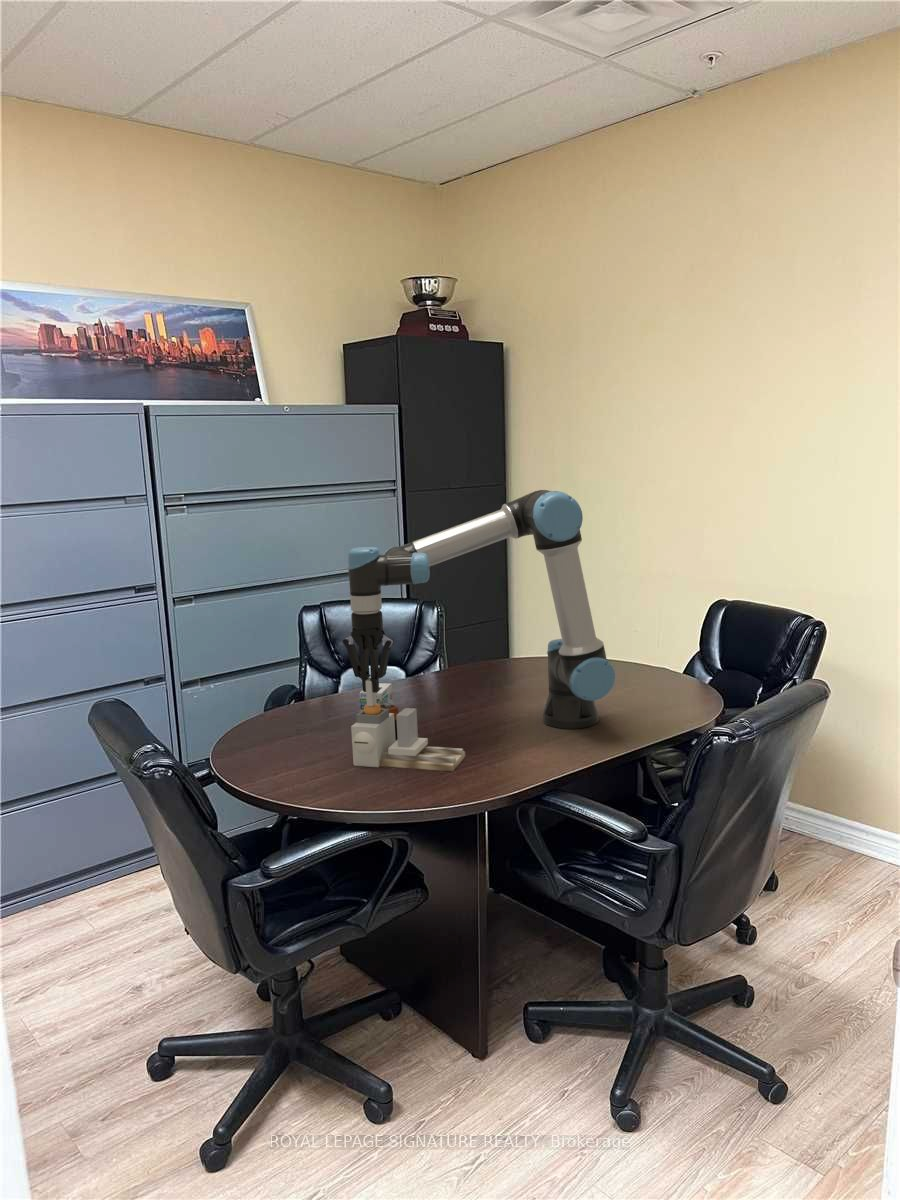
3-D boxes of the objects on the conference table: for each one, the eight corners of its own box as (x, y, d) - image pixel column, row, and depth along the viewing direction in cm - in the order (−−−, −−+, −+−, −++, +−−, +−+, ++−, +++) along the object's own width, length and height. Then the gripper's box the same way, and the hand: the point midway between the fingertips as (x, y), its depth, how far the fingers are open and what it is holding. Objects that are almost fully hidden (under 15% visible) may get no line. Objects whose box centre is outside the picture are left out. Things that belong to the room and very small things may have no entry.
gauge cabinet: (396, 751, 233) (393, 705, 231) (377, 768, 221) (374, 720, 219) (372, 749, 235) (369, 704, 233) (352, 766, 223) (349, 719, 221)
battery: (387, 743, 240) (385, 706, 238) (372, 737, 245) (370, 701, 243) (400, 739, 242) (398, 703, 241) (386, 733, 248) (384, 698, 246)
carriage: (427, 743, 228) (426, 707, 227) (415, 755, 220) (413, 718, 218) (401, 742, 231) (399, 705, 229) (388, 754, 222) (386, 716, 221)
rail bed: (465, 757, 226) (464, 746, 226) (452, 771, 217) (452, 760, 217) (395, 752, 232) (395, 742, 232) (380, 766, 223) (380, 755, 222)
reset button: (383, 715, 228) (382, 703, 228) (377, 720, 224) (376, 708, 224) (368, 714, 229) (367, 703, 229) (362, 719, 226) (361, 707, 225)
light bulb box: (384, 731, 250) (382, 693, 248) (360, 730, 252) (358, 692, 250) (394, 719, 261) (392, 682, 259) (371, 718, 262) (369, 682, 260)
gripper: (397, 608, 224) (401, 701, 228) (348, 607, 228) (353, 699, 232) (385, 614, 217) (390, 710, 221) (335, 613, 221) (341, 707, 225)
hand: (371, 704), depth 226 cm, fingers closed
